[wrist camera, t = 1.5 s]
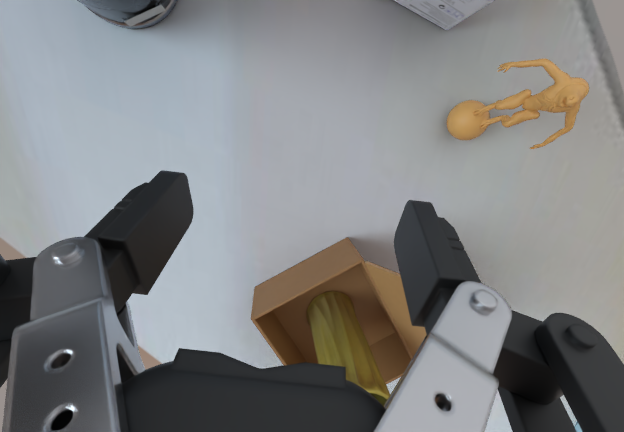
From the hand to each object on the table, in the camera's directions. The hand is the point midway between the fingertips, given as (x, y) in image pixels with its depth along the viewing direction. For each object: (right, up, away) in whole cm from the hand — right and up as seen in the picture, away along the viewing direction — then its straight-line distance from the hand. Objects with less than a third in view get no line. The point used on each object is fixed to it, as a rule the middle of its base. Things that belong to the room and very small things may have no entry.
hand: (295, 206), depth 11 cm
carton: (+3, -12, +26) cm, 29 cm away
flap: (+10, -12, +17) cm, 23 cm away
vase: (+3, -12, +26) cm, 29 cm away
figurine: (+17, +11, +22) cm, 30 cm away
